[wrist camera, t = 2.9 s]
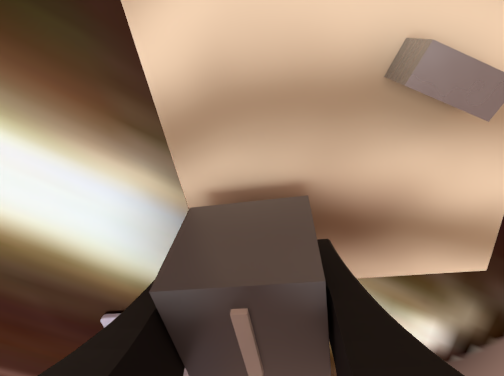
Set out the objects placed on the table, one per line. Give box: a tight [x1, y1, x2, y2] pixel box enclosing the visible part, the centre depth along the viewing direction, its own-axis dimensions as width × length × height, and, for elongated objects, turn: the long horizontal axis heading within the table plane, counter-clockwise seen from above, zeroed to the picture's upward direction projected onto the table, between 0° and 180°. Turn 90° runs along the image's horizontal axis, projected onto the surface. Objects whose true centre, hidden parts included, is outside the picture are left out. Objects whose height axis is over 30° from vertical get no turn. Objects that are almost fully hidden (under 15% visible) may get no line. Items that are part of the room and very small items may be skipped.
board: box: [121, 0, 504, 278], centre depth 12 cm, size 19×15×2 cm
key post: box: [384, 38, 504, 122], centre depth 10 cm, size 3×1×2 cm, turn 70°
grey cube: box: [149, 195, 331, 376], centre depth 11 cm, size 5×5×5 cm
